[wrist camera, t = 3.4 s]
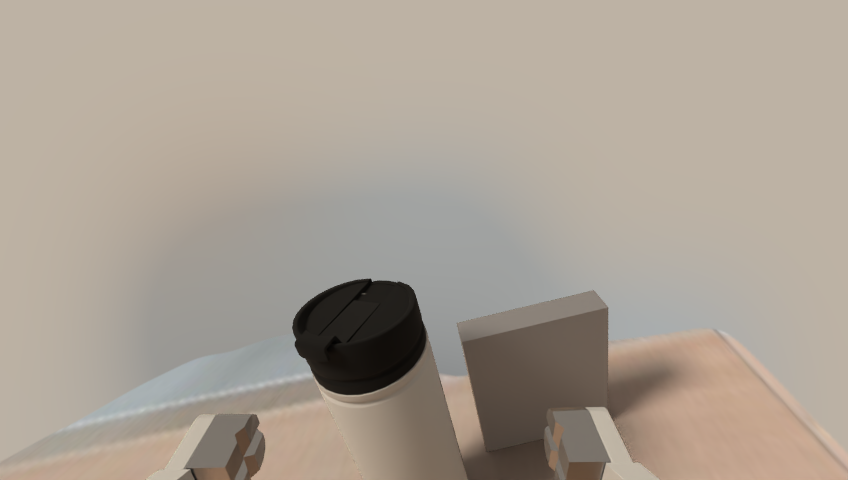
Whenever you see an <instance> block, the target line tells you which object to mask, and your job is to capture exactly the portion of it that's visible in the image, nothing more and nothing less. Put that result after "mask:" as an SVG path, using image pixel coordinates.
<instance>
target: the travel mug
mask: <svg viewBox="0 0 848 480" xmlns="http://www.w3.org/2000/svg"><path fill="white" fill-rule="evenodd" d="M292 329H293V333H294V336H295V338H296V341H295V347H296V349H297V351H298V353H299V355H300V356H301V357H303V358H306V360H307V362H308V364H309V365H310V367H311V371H312V373H313V377H314V380H315V382H316V384H317V385H318V387H319V390H320V392H321V394H322V396H323V398H324V400H325V402H326V404H327V406H328V408H329V410H330V412H331V414H332V417H333V419H334V421H335V423H336V425H337V427H338V429H339V431H340V433H341V435H342V437H343V439H344V441H345V443H346V445H347V447H348V449H349V451H350V453H351V456H352V458H353V460H354V462H355V464H356V466H357V468H358V470H359V472H360V474H361V476H362V478H363V480H468V478H467V475H466V471H465V467H464V464H463V460H462V457H461V453H460V449H459V446H458V442H457V438H456V435H455V431H454V428H453V424H452V420H451V417H450V413H449V410H448V406H447V402H446V399H445V395H444V392H443V388H442V384H441V381H440V377H439V374H438V370H437V366H436V363H435V359H434V356H433V352H432V348H431V345H430V342H429V339H428V334H427V331H426V328H425V326H424V324H423V321H422V317H421V313H420V309H419V306H418V302H417V298H416V295H415V293H414V290H413V289H412V288H411V287H410V286H409V285H407V284H404V283H402V282H397V283H396V282H391V281H374V282H372V280H371V279H361V280H354V281H350V282H347V283H343V284H340V285H337V286H335V287H333V288H330V289H328V290H326V291H324V292H322V293H320V294H318V295H317V296H316V297H314V298H312V299H311V300H310V301H308V302H307V303H306V304H305V305H304V306H303V307H302V308H301V309H300V310H299V312H298V313H297V314H296V316H295V318H294V320H293V327H292Z"/></svg>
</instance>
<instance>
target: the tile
mask: <svg viewBox="0 0 848 480" xmlns="http://www.w3.org/2000/svg"><path fill="white" fill-rule="evenodd" d="M457 327H458V331H459V335H460V340H461V345H462V349H463V353H464V357H465V362H466V366H467V371H468V375H469V380H470V384H471V388H472V393H473V397H474V402H475V406H476V410H477V415H478V419H479V423H480V428H481V432H482V436H483V440H484V444H485V448H486V451H487V452H490V451H494V450H498V449H502V448H507V447H511V446H515V445H519V444H524V443H528V442H532V441H536V440H541V439H544V431H545V428H546V427H547V426H548V422H547V418H546V416H547V411H548V409H549V408H569V407H585V408H586V407H605V408H606V409H607V410H608V307H607V305H606V304H605V303H604V302H603V301H602V299H601V298H600V297H599V296H598V295H597V293H596V292H595V291H589V292H585V293H581V294H576V295H572V296H568V297H564V298H559V299H555V300H551V301H547V302H543V303H539V304H534V305H530V306H526V307H522V308H518V309H513V310H509V311H505V312H501V313H497V314H492V315H488V316H484V317H480V318H476V319H471V320H467V321H463V322H459V323H457Z"/></svg>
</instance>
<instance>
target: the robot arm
mask: <svg viewBox="0 0 848 480" xmlns="http://www.w3.org/2000/svg"><path fill="white" fill-rule="evenodd" d="M546 418H547V422H548V426H547V427H546V428H545V431H544V448H545V453H546V458H547V462H548V465H549V466H550V467H551V468H552V469H553V470H554V471H555V474H554V480H660V479H659V478H658V477H656V476H655V475H654V474H653V473H652V472H650V471H649V470H648V469H647V468H645V467H644V466H643V465H642V464H641V463H639V462H633V460H632V458H631V456H630V454H629V452H628V450H627V448H626V446H625V444H624V442H623V440H622V438H621V436H620V434H619V432H618V430H617V428H616V426H615V424H614V422H613V420H612V418H611V416H610V414H609V412H608V410H607V409H606V408H605V407H586V408H585V407H569V408H549V409H548V411H547V416H546ZM258 425H259V420H258V417H257V415H255V414H201V415H200V416H198V417H197V418H196V419H195V420H194V422H193V424H192V425H191V427H190V428H189V430H188V432H187V433H186V435H185V437H184V438H183V440H182V441H181V443H180V445H179V446H178V448H177V449H176V451H175V453H174V454H173V456H172V458H171V459H170V461H169V462H168V464H167V466H166V467H165V469H163V470H158V471H156V472H155V473H154V474H152V475H151V476H150V477H148V478H147V479H146V480H251V477H252V476H254V475H255V474H256V473H257V472H258V471H259V470H260V467H261V465H262V462H263V459H264V453H265V439H264V435H263V433H261V432H260V431H259V430H258V429H257V427H258Z"/></svg>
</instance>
